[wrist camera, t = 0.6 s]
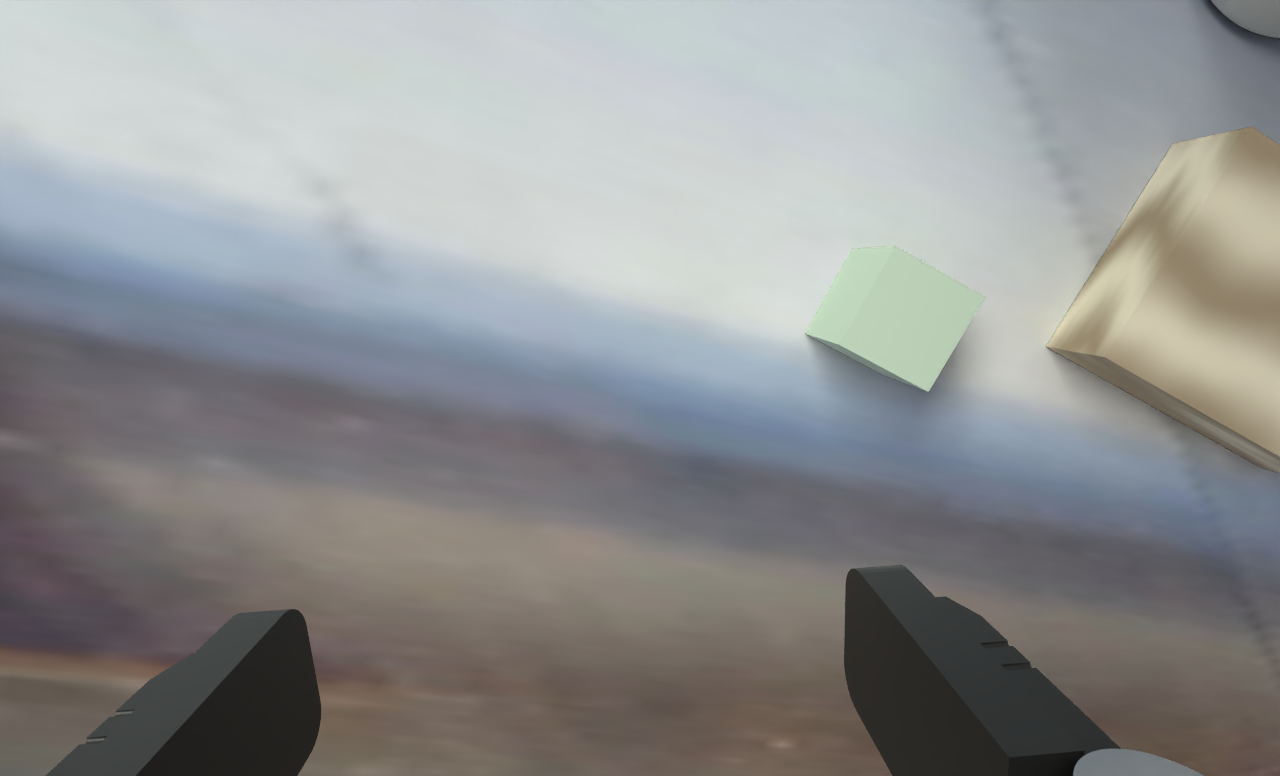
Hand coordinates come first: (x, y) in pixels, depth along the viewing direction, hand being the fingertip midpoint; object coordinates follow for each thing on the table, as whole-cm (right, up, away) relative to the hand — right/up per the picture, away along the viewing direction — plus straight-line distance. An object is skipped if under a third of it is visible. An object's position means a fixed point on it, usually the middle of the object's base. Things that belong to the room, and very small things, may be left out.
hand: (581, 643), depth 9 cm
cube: (+13, +8, +24) cm, 28 cm away
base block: (+33, +8, +25) cm, 42 cm away
